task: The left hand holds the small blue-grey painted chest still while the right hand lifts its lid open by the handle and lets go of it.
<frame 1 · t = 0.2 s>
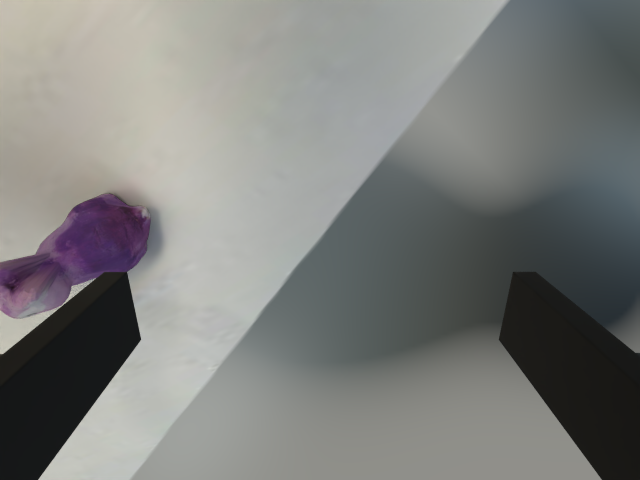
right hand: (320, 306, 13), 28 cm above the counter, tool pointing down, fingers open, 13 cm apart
figurine: (113, 235, 42), on the counter
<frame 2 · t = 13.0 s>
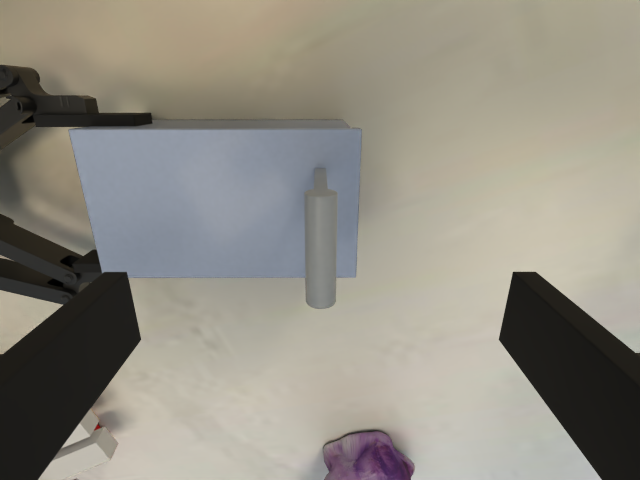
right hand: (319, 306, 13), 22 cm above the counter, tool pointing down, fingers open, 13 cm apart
chest: (246, 177, 33), on the counter, touching left hand
toy: (9, 435, 44), on the counter
figurine: (358, 454, 46), on the counter
lid: (208, 225, 21), point 13 cm above the counter, hinge at 0.0°
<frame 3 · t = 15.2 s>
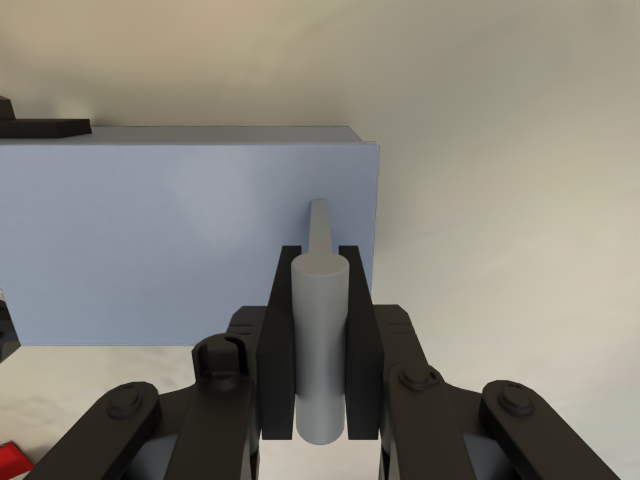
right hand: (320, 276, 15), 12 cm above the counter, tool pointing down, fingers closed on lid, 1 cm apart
chest: (226, 199, 26), on the counter, touching left hand
lid: (151, 290, 14), point 13 cm above the counter, hinge at -0.1°, touching right hand
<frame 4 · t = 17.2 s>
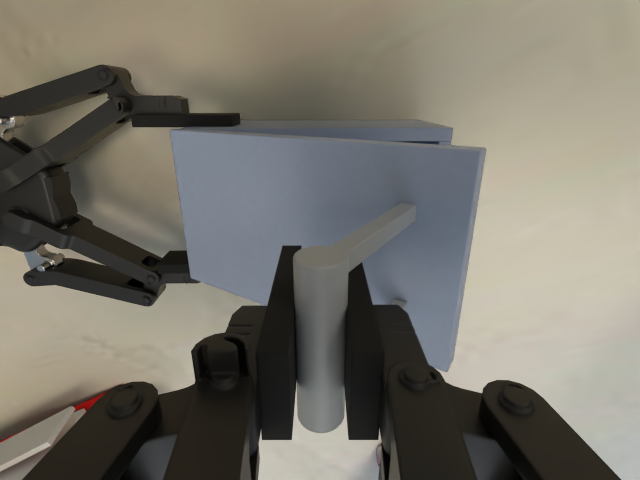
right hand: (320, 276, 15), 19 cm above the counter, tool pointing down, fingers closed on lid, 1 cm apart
left hand: (242, 195, 27), fingers closed on chest, 10 cm apart
chest: (317, 178, 33), on the counter, touching left hand
toy: (62, 436, 44), on the counter
lid: (246, 255, 17), point 17 cm above the counter, hinge at 32.7°, touching right hand
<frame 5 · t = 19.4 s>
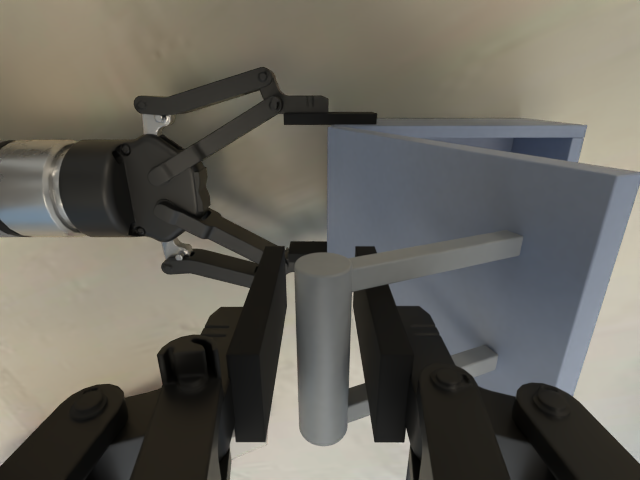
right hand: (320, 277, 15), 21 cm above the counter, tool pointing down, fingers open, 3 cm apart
left hand: (370, 189, 29), fingers closed on chest, 10 cm apart
chest: (420, 173, 35), on the counter, touching left hand
toy: (150, 422, 46), on the counter
lid: (339, 252, 17), point 19 cm above the counter, hinge at 67.0°
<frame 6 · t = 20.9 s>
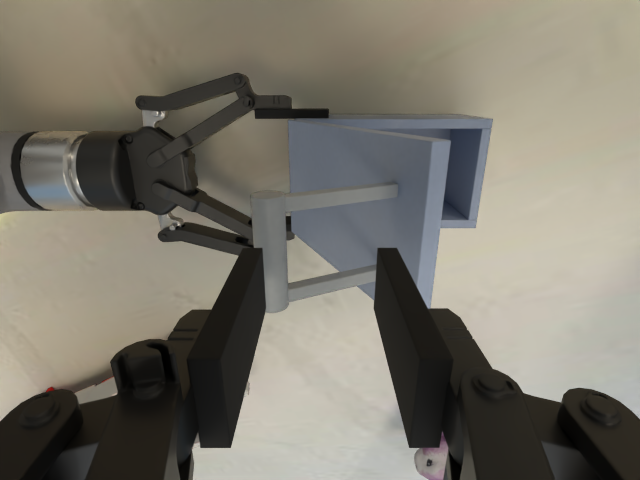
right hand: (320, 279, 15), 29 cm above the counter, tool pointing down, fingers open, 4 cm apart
left hand: (327, 171, 36), fingers closed on chest, 10 cm apart
chest: (375, 160, 42), on the counter, touching left hand
toy: (148, 381, 53), on the counter
figurine: (440, 397, 54), on the counter
lid: (292, 208, 24), point 19 cm above the counter, hinge at 64.6°
when the left hand's fingers open (6 cm above the counter, at t = 23.6 s): chest stays where it is, on the counter.
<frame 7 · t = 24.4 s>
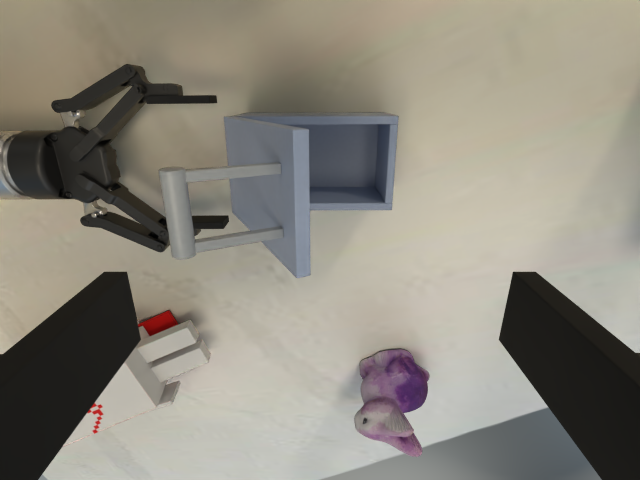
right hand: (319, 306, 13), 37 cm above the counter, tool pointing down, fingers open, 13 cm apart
left hand: (220, 164, 41), fingers open, 13 cm apart
chest: (315, 153, 47), on the counter
toy: (122, 353, 59), on the counter
figurine: (386, 369, 60), on the counter
lid: (214, 187, 30), point 19 cm above the counter, hinge at 63.3°
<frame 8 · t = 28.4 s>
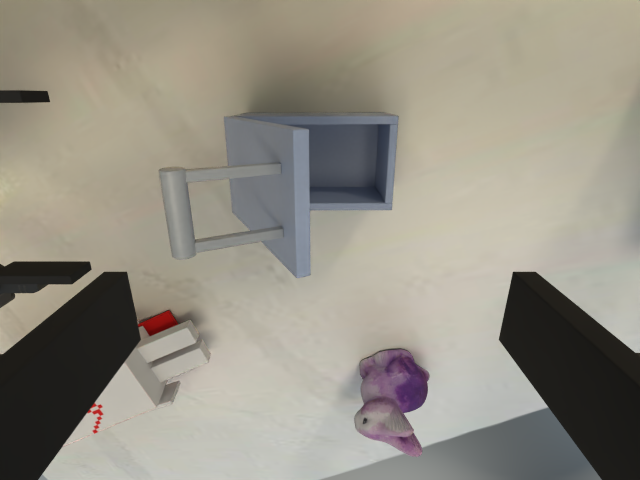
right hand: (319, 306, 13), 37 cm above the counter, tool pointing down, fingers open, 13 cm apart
chest: (315, 153, 47), on the counter
toy: (122, 353, 59), on the counter
figurine: (386, 369, 60), on the counter
lid: (214, 187, 30), point 19 cm above the counter, hinge at 63.2°
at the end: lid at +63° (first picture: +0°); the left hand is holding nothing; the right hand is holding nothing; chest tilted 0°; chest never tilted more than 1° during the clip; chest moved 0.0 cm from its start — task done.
